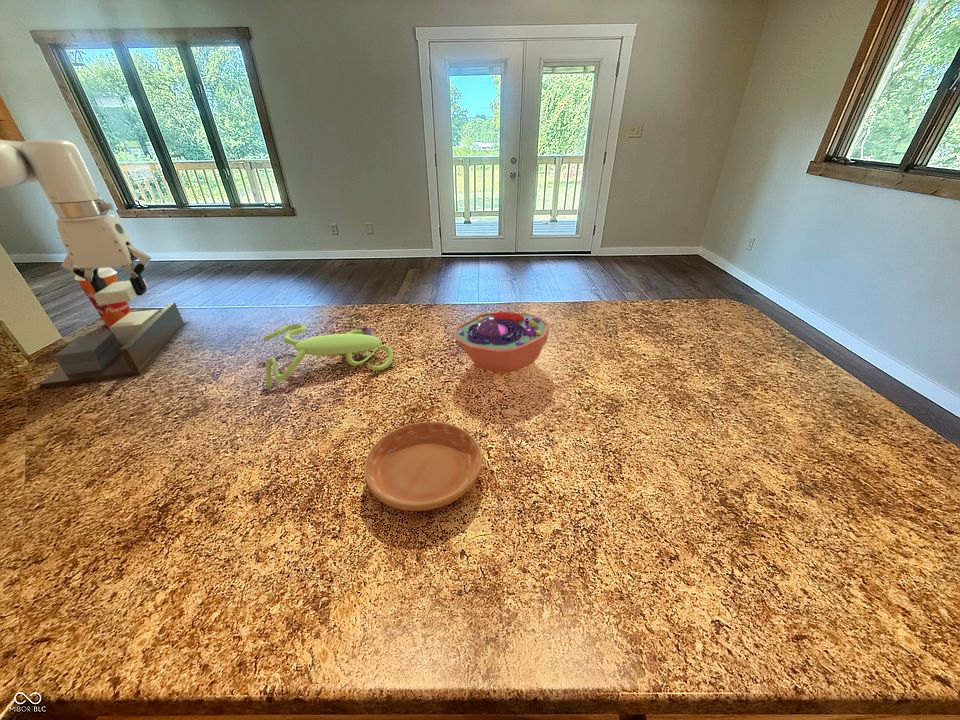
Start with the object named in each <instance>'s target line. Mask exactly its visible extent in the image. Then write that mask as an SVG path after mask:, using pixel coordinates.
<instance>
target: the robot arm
mask: <svg viewBox="0 0 960 720" xmlns="http://www.w3.org/2000/svg"><path fill="white" fill-rule="evenodd" d="M35 182H36V183H37V182H38V183H39V185H40V187H41V189H42V191H43V192H44V195H45V196H46V198H47V199H48V201H49V203H50V206H51V207H52V209H53V210H54V212H55V214H56V216H57V218H58V219H56V220H55V221H56V222H55V223H56V226H57V230H58V233H59V236H60V239H61V241H62V244H63V246H64V249H65V251H66V253H67V254H66V256H65V258H64V259H63V262H61V264H60V265H61V267H62V268H63V269H65V270H67V271H69V272H71V273H73V274H74V275H75V274H76V275H78V276H80V277H82V278H84V279H85V280H86V281H87V282H90V283H91V285H92V287H93V289H94V290H95V292H96V293H98V292H99V291H101V290H102V289H104V288H106V287H107V284H106V282H105V281H104V279H103V278H100V277H99V268H106V267H111V268H116V267H121V268H122V269H123V270H124V271H125V272H126V274H128V275H129V276H130V278H129V280H128V281H130V282H131V284H132V286H133V288H134V290H135V292H136V294H137V295H138V296H143V295H144V294H146V292H147V289H148V288H147V287H146V285H145V283H144V280H145V279H144V278H143V276H142V274H143V272H144V271H145V269H146V268H147V266H148V264H149V263H150V261H151V260H152V257H151V256H149V255H148V254H146V253H144V252H143V251H141V250H139V249H137V248H136V246H135V245H134V243H133V241H132V238H130V236H129V235H128V233H127V231H126V229H125V227H124V226H123V225H122V223H121V222H120V221H119V219H118V218H117V217H116V216H115V214H109V212H110V211H113V210H114V206H113V204H112V203H111V202H105V201H104V200H103V199H104V198H103V199H102V197H101V195H100V193H99V191H98V189H97V187H96V185H95V183H94V181H93V178H92V176H91V174H90V172H89V170H88V168H87V166H86V164H85V162H84V159H83V158H82V156H81V153H80V151H79V149H78V148H77V146H76V145H75V144H73V143H72V142H70V141H68V140H64V139H29V140H24V141H19V140H17V141H16V140H6V139H0V189H2V188H9V187H13V186H20V185H23V184H31V183H35ZM137 260H139V261H138V263H135V262H136V261H137ZM143 279H144V280H143ZM138 296H137V297H138Z"/></svg>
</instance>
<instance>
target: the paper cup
mask: <svg viewBox="0 0 960 720" xmlns="http://www.w3.org/2000/svg"><path fill="white" fill-rule="evenodd" d="M117 274H118V271H116V270H115V269H114V268H113V267H106V268H99V277H100V278H103V279H104V281H105V282H106V284H107V286H109V285H110V284H112V283H114V282H120V281H119V279H118V276H117ZM74 280H75V281H77V282H78V284H79V285H80V287H81V289H82V291H83V292H84V294H85V295H86V296H87V298H88V300H89V301H90V303H91V304H92V306H93V307H94V309H95V310H96V312H97V313H98V315H99V316H100V318H101V320H102V321H103V322H104V324H105V325H106V327H107V328H109V327H110V326H112V325H113V324H115V323H116V322H117V321H119V320H120V319H122V318H123V317H124V316H126V315H127V314H128V313H130V312H132V309H131V308H130V306H129V302H128V301H126V302H118V303H110V304H102V305H98V303H97V301H96V300H95V298H94V296H93V295H94V294H96V292H95V290H94V289H93V287H92V285H91V283H90V282H87V281H86V280H85V279H84V278H82V277H80V276H78V275H76V274H75V273H74Z"/></svg>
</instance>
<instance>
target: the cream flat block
mask: <svg viewBox="0 0 960 720" xmlns="http://www.w3.org/2000/svg"><path fill="white" fill-rule="evenodd" d="M143 280H144V283H145V285H146V287H147V289H149V285H148V284H147V282H146V280H145V278H143ZM93 296H94V298H95V300H96V301H97V303H98V305H102V304H110V303H118V302H126V301H127V302H132V301H134V299H136V298H138V295H137V294H136V292H135V290H134V288H133V286H132V284H131V282H130V280H122V281H119V282H114V283H112V284H110V285H109V286H107V287H106V288H104V289H102V290H101V291H99V292H98V293H96V294H94V295H93Z"/></svg>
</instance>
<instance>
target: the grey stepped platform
mask: <svg viewBox="0 0 960 720" xmlns="http://www.w3.org/2000/svg"><path fill="white" fill-rule="evenodd" d="M159 311H160V312H159V313H158V314H157V315H156V316H155V317H154V318H153V319H152V320H151V321H150V322H148V323H147V324H146V325H145V326H144V327H143V328H142V329H141V330H140V331H139V332H138V333H137V334H136V335H135V336H134V337H132V338H131V339H130V340H129V341H128V342H127V343H126V344H124V345H121V346H122V348H121V349H120V351H121V353H120V354H119V355H118V356H117V357H116V358H115V359H114V360H113V361H111V362H110V363H109V364H108V365H107V366H106V367H105V368H104V369H103V370H99V371H91V372H84V373H76V374H69V375H66V374H65V372H64V371H63V369H62V368H61V366H60V367H58V368H57V369H56V370H55V371H54V372H52V373H51V374H50V375H48V376H47V377H46V378H44V380H42V381H41V382H40V383H39V384H38V385H39V387H40V388H41V389H48V388H55V387H63V386H70V385H76V384H84V383H91V382H97V381H104V380H111V379H118V378H120V379H121V378H125V377H132V376H141V375H142V374H143V373H144V372H145V370H146V369H147V368H148V366H150V364H151V363H152V362H153V361H154V360H155V358H156V357H157V356H158V355H159V354H160V353H161V352H162V351H163V349H165V347H166V346H167V345H168V343H169V342H170V341H171V340H172V339H173V338H174V337H175V336H176V334H177V333H178V332H179V331H180V330H181V328H182V327H183V326H184V325H185V322H184V321H183V318H182V315H181V313H180V311H179V309H178V306H177V304H176V302H174V301H173V302H168V304H166V305H165V306H164V307H163V308H162V309H161V310H159ZM109 332H111V330H110V328H107V329H106V330H104V331H103V333H109Z"/></svg>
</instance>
